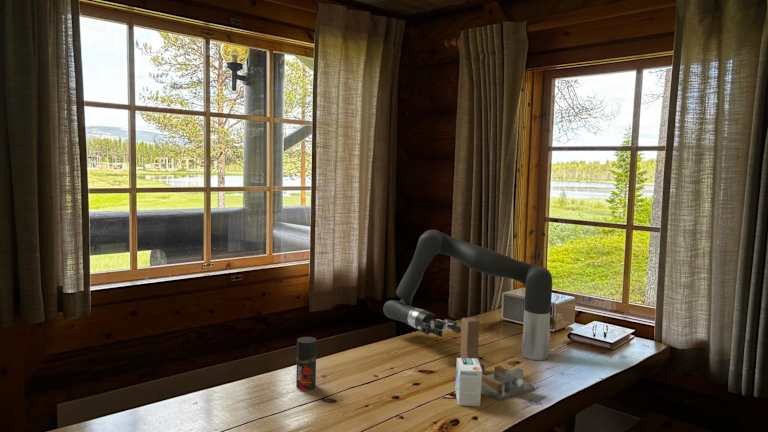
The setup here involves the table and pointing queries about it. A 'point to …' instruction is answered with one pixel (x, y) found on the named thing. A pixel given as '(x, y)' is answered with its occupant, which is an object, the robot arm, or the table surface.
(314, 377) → the deodorant
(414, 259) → the robot arm
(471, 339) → the wooden block
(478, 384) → the light bulb box
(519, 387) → the shaft bed
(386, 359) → the table surface
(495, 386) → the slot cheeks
